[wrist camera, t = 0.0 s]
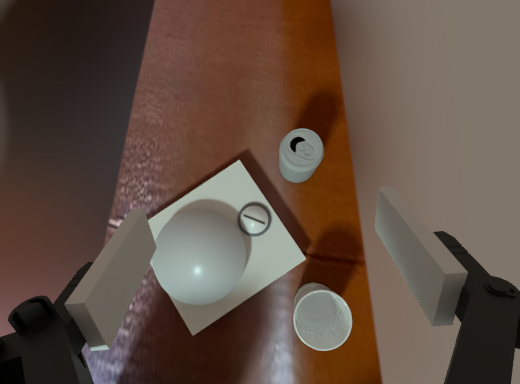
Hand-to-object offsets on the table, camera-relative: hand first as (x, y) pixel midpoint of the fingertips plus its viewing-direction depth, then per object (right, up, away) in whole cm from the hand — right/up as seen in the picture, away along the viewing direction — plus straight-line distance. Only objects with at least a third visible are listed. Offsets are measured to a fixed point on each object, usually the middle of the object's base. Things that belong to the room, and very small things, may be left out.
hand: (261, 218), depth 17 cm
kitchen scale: (-7, -8, +36) cm, 37 cm away
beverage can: (+7, +6, +37) cm, 38 cm away
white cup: (+9, -17, +34) cm, 39 cm away
